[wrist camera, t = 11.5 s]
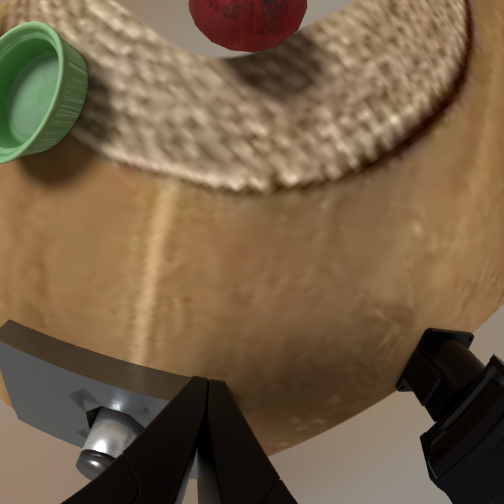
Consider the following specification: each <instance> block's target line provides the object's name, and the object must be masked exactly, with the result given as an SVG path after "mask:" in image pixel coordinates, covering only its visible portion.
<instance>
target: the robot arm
mask: <svg viewBox="0 0 504 504" xmlns="http://www.w3.org/2000/svg"><path fill="white" fill-rule="evenodd" d="M473 339H474V335H473V334H472V333H470V332H461V331H452V330H443V329H434V328H429V329H427V330H426V331H425V333H424V335H423V337H422V339H421V341H420V343H419V345H418V347H417V349H416V351H415V352H414V354H413V356H412V358H411V360H410V362H409V364H408V365H407V367H406V369H405V371H404V373H403V374H402V376H401V378H400V380H399V381H398V383H397V385H396V389H397V390H398V391H400V392H405V391H406V392H407V391H413V392H414V394H415V395H416V397H417V398H418V400H419V402H420V403H421V405H422V406H425V408H426V410H427V411H428V413H429V414H430V416H431V418H432V419H433V421H434V422H436V423H435V424H434V425H433V426H432V427H431V428H430V429H429V430H428V431H427V432H425V433H423V434H422V435H421V436H420V440H421V444H422V449H423V453H424V457H425V461H426V465H427V469H428V473H429V477H430V479H431V481H433V483H434V484H435V485H436V486H437V487H438V488H440V489H441V490H442V491H444V492H445V493H446V494H447V496H448V497H449V499H450V500H451V502H452V504H504V362H503V361H502V360H501V359H499V358H498V357H497V356H495V355H494V354H493V356H492V357H491V358H490V361H489V363H488V364H487V365H486V367H485V366H484V365H483V363H482V362H481V361H480V360H479V359H478V358H477V357H476V356H475V355H474V354H473V353H472V352H471V351H470V350H469V349H468V348H469V347H470V345H471V343H472V341H473ZM196 452H197V487H198V504H298V503H297V502H296V500H295V499H294V498H293V496H292V495H291V493H290V492H289V491H288V489H287V487H286V486H285V484H284V483H283V481H282V480H279V479H280V477H279V475H278V473H277V472H276V470H275V469H274V467H273V465H272V464H271V462H270V460H269V459H268V457H267V455H266V454H265V452H264V450H263V449H262V447H261V445H260V444H259V442H258V440H257V439H256V437H255V435H254V433H253V432H252V430H251V428H250V426H249V425H248V423H247V421H246V419H245V418H244V416H243V414H242V412H241V410H240V409H239V407H238V405H237V403H236V401H235V399H234V397H233V396H232V394H231V392H230V390H229V388H228V386H227V384H226V383H225V382H224V381H221V380H215V379H210V380H209V381H208V379H207V378H205V377H200V376H192V377H191V378H190V379H189V380H188V381H187V383H186V384H185V385H184V386H183V387H182V388H181V389H180V390H179V391H178V393H177V394H176V395H175V396H174V397H173V398H172V399H171V400H170V401H169V403H168V404H167V405H166V406H165V407H164V408H163V409H162V410H161V411H160V412H159V413H158V415H157V416H156V417H155V418H154V419H153V420H152V421H151V422H150V423H149V424H148V425H147V426H146V428H145V429H144V430H143V431H142V432H141V433H140V434H139V435H138V436H137V437H136V438H135V439H134V440H133V441H132V442H131V443H130V445H129V446H128V447H127V448H126V449H125V450H124V451H123V452H122V454H120V455H119V456H118V457H117V458H116V459H115V460H114V461H113V462H112V463H111V464H110V465H109V466H108V467H107V468H106V469H105V470H104V471H103V472H102V473H100V474H99V475H98V476H97V477H96V478H95V479H94V480H92V481H91V482H90V483H89V484H87V485H86V486H85V487H83V488H82V489H81V490H79V491H78V492H76V493H75V494H74V495H72V496H71V497H69V498H68V499H66V500H65V501H63V502H62V503H60V504H182V501H183V498H184V495H185V491H186V488H187V484H188V481H189V478H190V474H191V471H192V467H193V464H194V460H195V456H196Z"/></svg>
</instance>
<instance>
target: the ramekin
mask: <svg viewBox="0 0 504 504" xmlns="http://www.w3.org/2000/svg"><path fill="white" fill-rule="evenodd" d="M87 88H88V73H87V67H86V63H85V61H84V59H83V57H82V56H81V54H80V53H79V52H78V51H77V50H76V49H75V48H74V47H73V46H72V45H70V44H69V43H68V42H66V41H65V40H64V39H62V38H61V36H60V35H59V33H58V32H57V31H56V30H55V29H54V28H53V27H51V26H50V25H48V24H46V23H43V22H38V21H34V22H27V23H23V24H21V25H18V26H16V27H14V28H13V29H11V30H10V31H8V32H7V33H5V34H4V35H3V36H2V37H1V38H0V164H4V163H8V162H11V161H13V160H16V159H18V158H19V157H21V156H25V155H30V154H35V153H40V152H43V151H46V150H48V149H49V148H51V147H53V146H54V145H56V144H57V143H58V142H60V141H61V140H62V139H63V138H64V137H65V136H66V134H67V133H68V132H69V131H70V130H71V128H72V127H73V125H74V124H75V122H76V120H77V119H78V117H79V115H80V112H81V110H82V108H83V105H84V102H85V98H86V94H87Z"/></svg>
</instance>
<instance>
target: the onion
mask: <svg viewBox="0 0 504 504" xmlns="http://www.w3.org/2000/svg"><path fill="white" fill-rule="evenodd" d="M306 9H307V0H189V11H190V13H191V16H192V18H193V20H194V23H195V25H196V26H197V27H198V29H199V30H200V31H201V32H202V33H203V34H204V35H205V36H206V37H207V38H208V39H209V40H211V42H213V43H215V44H218V45H220V46H223V47H225V48H227V49H230V50H235V51H245V52H254V53H255V52H258V51H262V50H266V49H270V48H274V47H277V46H278V45H280V44H281V43H282V42H283V41H285V40H286V39H287V38H289V37H290V36H291V35H292V34H294V33H295V32H296V31H297V30H298V29H299V26H300V24H301V22H302V19H303V17H304V15H305V12H306Z"/></svg>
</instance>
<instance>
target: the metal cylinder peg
mask: <svg viewBox="0 0 504 504" xmlns="http://www.w3.org/2000/svg"><path fill="white" fill-rule="evenodd" d="M143 428H144V427H143V426H142V425H141V424H140V423H138V422H137V421H136V420H135V419H134V418H133V417H132V416H130V415H129V414H127V413H123V412H120V411H117V410H113V409H110V408H107V407H104V406H102V407H101V409H100V411H99V414H98V416H97V418H96V420H95V422H94V424H93V427H92V429H91V431H90V433H89V435H88V438H87V440H86V442H85V444H84V447H83V449H82V451H81V454H80V456H79V459H78V461H77V463H76V467H77V469H78V470H79V471H80V472H81V473H82V474H83V475H84V476H85V477H87V478H88V479H90V480H91V481H92V480H94V479H95V478H96V477H97V476H98V475H99V474H100V473H102V472H103V471H104V470H105V469H106V468H107V467H108V466H109V465H110V464H111V463H112V462H113V461H114V460H115V459H116V458H117V457H118V456H119V455H120V454H122V452H123V451H124V450H125V449H126V448H127V447H128V446H129V445H130V443H131V442H132V441H133V440H134V439H135V438H136V437H137V436H138V435H139V434H140V433H141V432H142V431H143Z"/></svg>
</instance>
